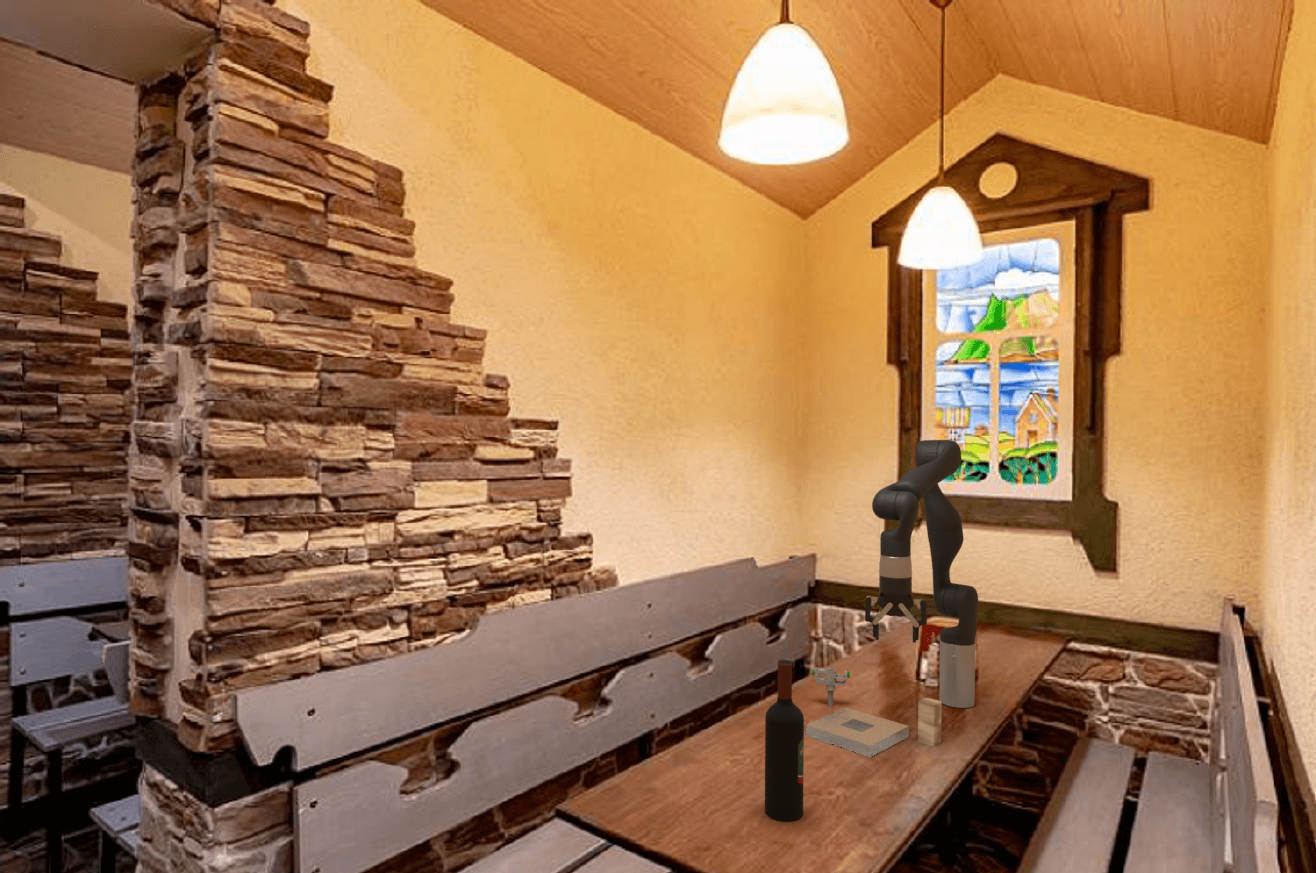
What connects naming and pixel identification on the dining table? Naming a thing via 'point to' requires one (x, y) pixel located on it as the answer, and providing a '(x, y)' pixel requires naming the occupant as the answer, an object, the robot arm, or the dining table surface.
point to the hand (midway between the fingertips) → (895, 640)
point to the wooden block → (929, 721)
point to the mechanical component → (830, 680)
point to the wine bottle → (784, 752)
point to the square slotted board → (857, 731)
